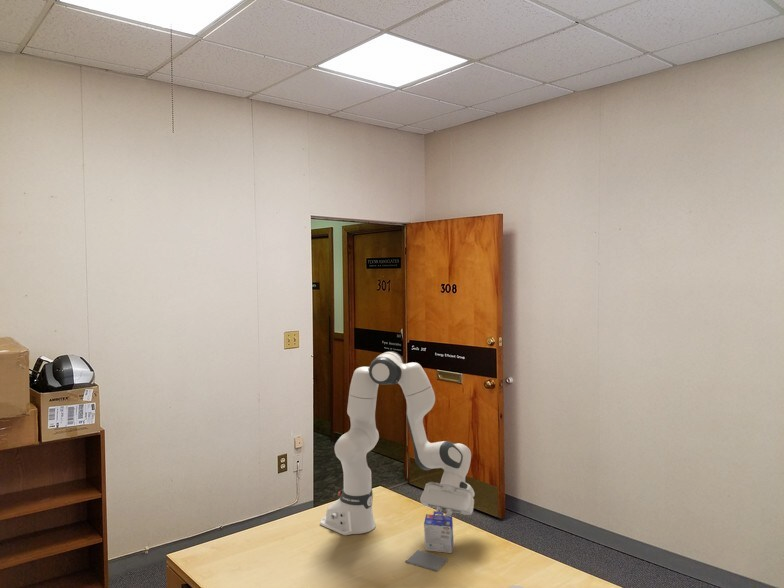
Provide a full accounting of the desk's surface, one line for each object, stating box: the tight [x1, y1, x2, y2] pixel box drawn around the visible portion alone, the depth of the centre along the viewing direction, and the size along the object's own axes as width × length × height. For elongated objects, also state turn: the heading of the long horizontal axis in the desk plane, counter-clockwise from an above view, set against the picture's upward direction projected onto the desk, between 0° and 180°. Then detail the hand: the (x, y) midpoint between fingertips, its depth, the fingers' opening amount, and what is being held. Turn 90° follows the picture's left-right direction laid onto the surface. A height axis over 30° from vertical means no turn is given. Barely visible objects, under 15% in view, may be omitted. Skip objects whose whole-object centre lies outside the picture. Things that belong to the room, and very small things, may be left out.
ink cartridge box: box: [423, 510, 455, 554], centre depth 198 cm, size 10×6×14 cm, turn 78°
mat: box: [405, 549, 449, 572], centre depth 192 cm, size 12×9×1 cm
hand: (441, 520), depth 201 cm, fingers closed
